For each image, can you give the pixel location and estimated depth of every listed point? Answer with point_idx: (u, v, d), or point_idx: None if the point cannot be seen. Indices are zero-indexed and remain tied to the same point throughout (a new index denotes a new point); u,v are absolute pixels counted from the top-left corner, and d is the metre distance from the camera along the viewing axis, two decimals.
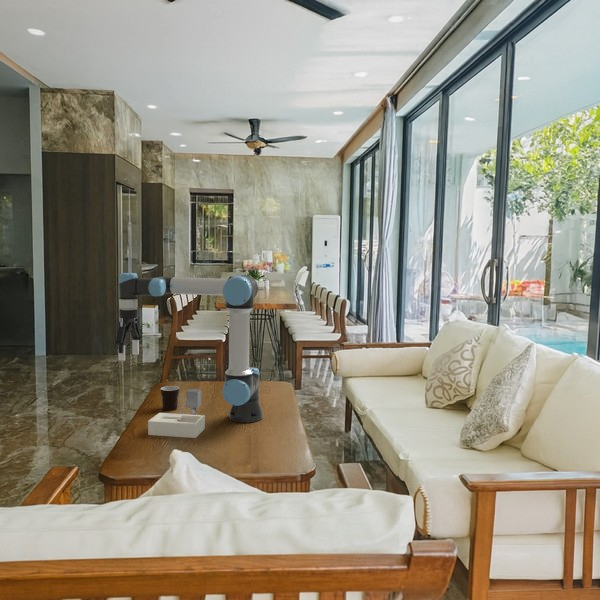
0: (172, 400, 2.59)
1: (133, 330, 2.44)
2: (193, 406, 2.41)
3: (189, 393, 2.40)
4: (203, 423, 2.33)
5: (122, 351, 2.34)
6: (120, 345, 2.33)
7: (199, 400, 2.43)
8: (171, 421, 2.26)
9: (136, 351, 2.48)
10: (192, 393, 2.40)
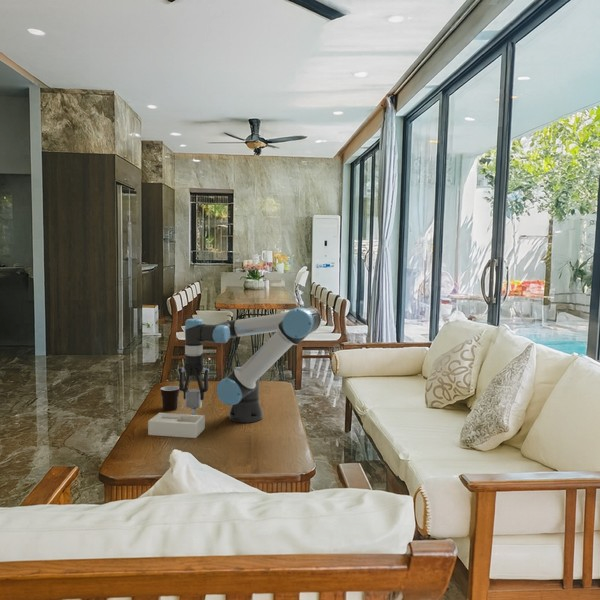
0: (172, 400, 2.59)
1: None
2: (193, 406, 2.41)
3: (189, 393, 2.40)
4: (203, 423, 2.33)
5: (185, 398, 2.43)
6: None
7: None
8: (171, 421, 2.26)
9: None
10: (192, 393, 2.40)
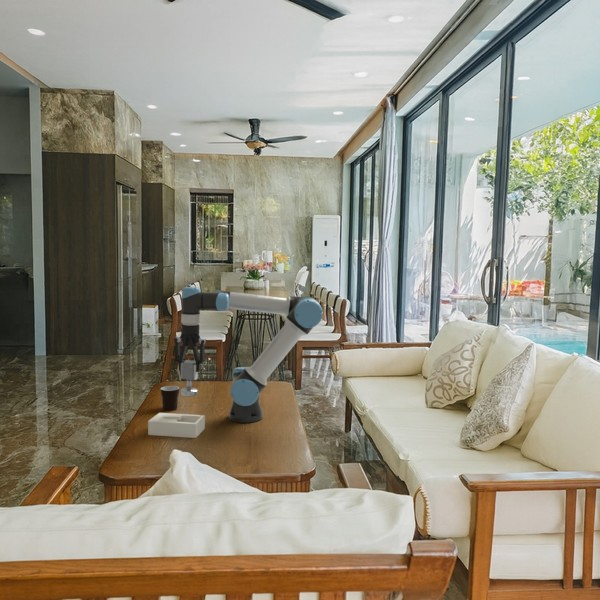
0: (172, 400, 2.59)
1: None
2: (188, 377, 2.32)
3: (184, 364, 2.32)
4: (203, 423, 2.33)
5: None
6: (179, 362, 2.34)
7: None
8: (171, 421, 2.26)
9: None
10: (187, 364, 2.31)
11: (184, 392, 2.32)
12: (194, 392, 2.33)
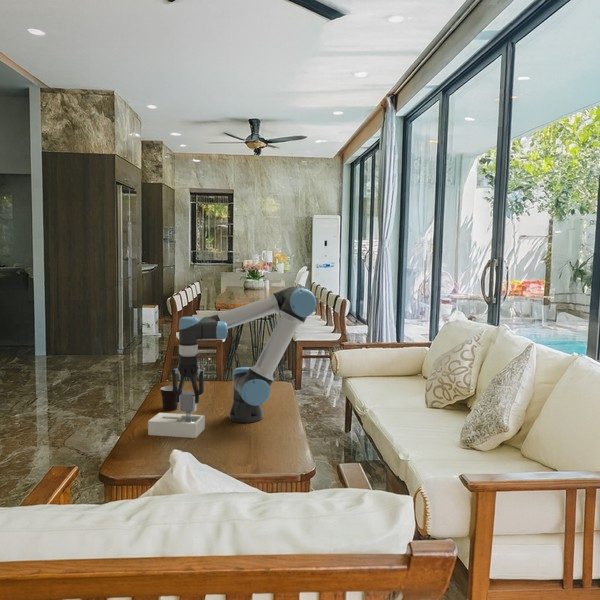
0: (172, 400, 2.59)
1: None
2: (187, 410, 2.26)
3: (183, 396, 2.26)
4: (203, 423, 2.33)
5: (179, 401, 2.28)
6: (177, 394, 2.29)
7: None
8: (171, 421, 2.26)
9: None
10: (186, 396, 2.26)
11: None
12: None
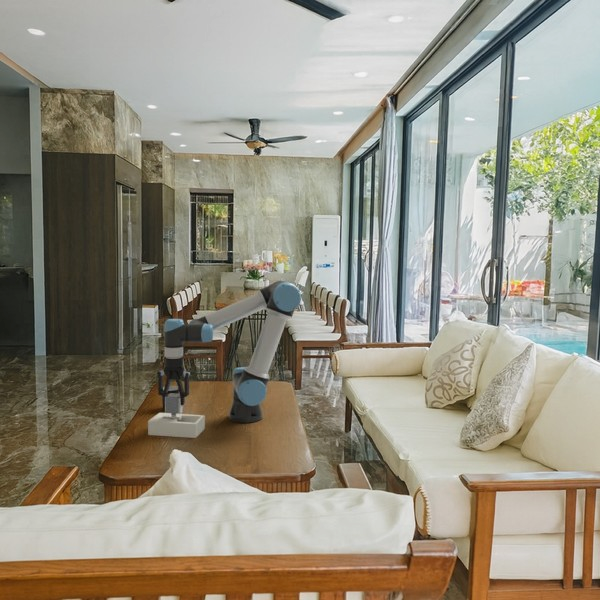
0: None
1: None
2: (173, 412, 2.27)
3: (168, 398, 2.27)
4: (203, 423, 2.33)
5: (165, 403, 2.29)
6: None
7: None
8: (171, 421, 2.26)
9: None
10: (172, 398, 2.27)
11: None
12: None
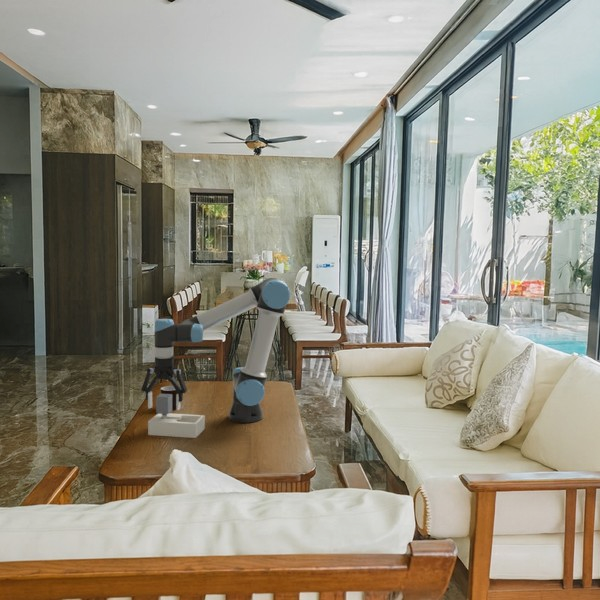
0: (172, 400, 2.59)
1: None
2: (163, 412, 2.28)
3: (159, 398, 2.28)
4: (203, 423, 2.33)
5: (148, 398, 2.30)
6: (145, 391, 2.30)
7: (170, 405, 2.30)
8: (171, 421, 2.26)
9: None
10: (162, 398, 2.27)
11: None
12: None
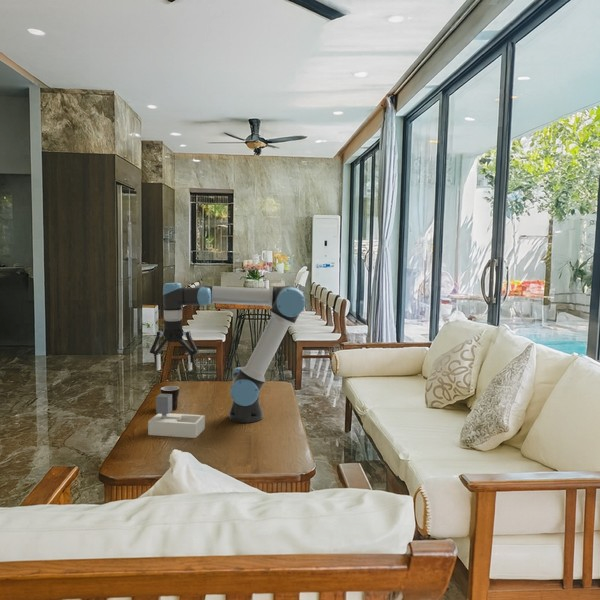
0: (172, 400, 2.59)
1: None
2: (163, 412, 2.28)
3: (159, 398, 2.28)
4: (203, 423, 2.33)
5: (156, 361, 2.33)
6: (154, 354, 2.34)
7: (170, 405, 2.30)
8: (171, 421, 2.26)
9: None
10: (162, 398, 2.27)
11: None
12: None
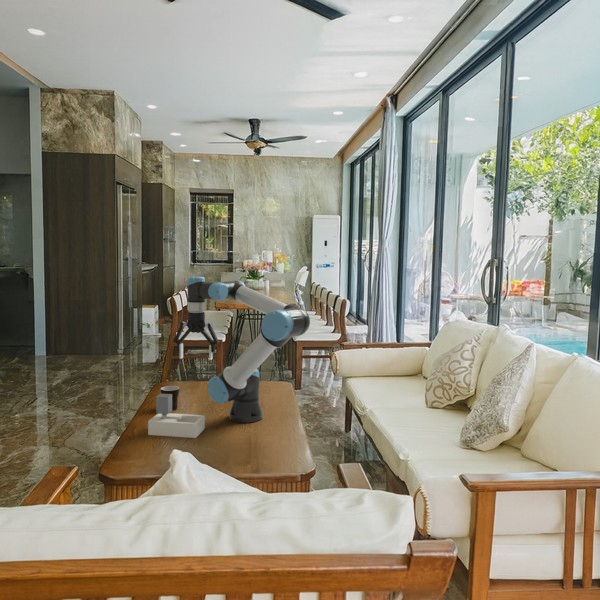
0: (172, 400, 2.59)
1: None
2: (163, 412, 2.28)
3: (159, 398, 2.28)
4: (203, 423, 2.33)
5: (179, 349, 2.47)
6: None
7: (170, 405, 2.30)
8: (171, 421, 2.26)
9: None
10: (162, 398, 2.27)
11: None
12: None
